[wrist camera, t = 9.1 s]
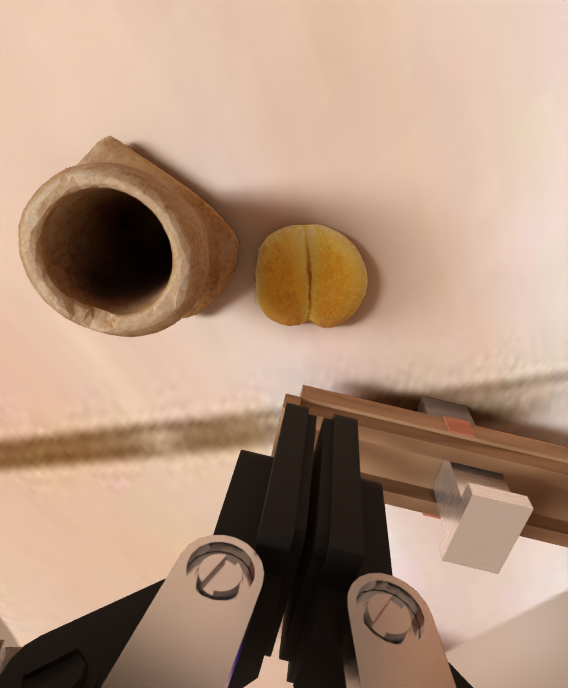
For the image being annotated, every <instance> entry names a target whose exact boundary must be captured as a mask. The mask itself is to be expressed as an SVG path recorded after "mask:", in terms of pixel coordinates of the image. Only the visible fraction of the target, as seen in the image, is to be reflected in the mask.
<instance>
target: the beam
mask: <svg viewBox="0 0 568 688" xmlns="http://www.w3.org/2000/svg"><path fill="white" fill-rule="evenodd" d="M286 403H292V404H296V405H300V406H304V407H308V408H309V414H311V415H315V416H317V421H316V432H315V443H314V449H315V446H316V442H317V438H318V435H319V431H320V428H321V424H322V421H323V418H328V419H332V417H333V415H334V414H338V415H342V416H347V417H351V418H355V419H357V420H358V436H359V455H360V475H361V478H363V479H367V480H371V481H375V482H380V483H381V484H382V488H383V495H384V504H389V505H393V506H397V507H401V508H405V509H409V510H414V511H418V512H422V513H423V515H426V516H430V517H434V518H438V519H441V517H440V513H439V509H438V505H437V502H436V498H435V494H434V490H433V485H434V483H435V481H436V478H437V476H438V473H439V471H440V469H441V466H442V464H443V462H444V460H446V461H450V462H455V463H459V464H463V465H467V466H471V467H476V468H480V469H484V470H488V471H493V472H497V473H501V474H502V475H503V477H504V479H505V481H506V483H507V486H508V488H509V490H510V492H511V493H515V494H520V495H524V496H527V497H528V499H529V501H530V503H531V505H532V507H533V511H532V513H531V515H530V517H529V518H528V520H527V522H526V524H525V526H524V528H523V530H522V531H521V533H520V535H519V536H522V537H526V538H531V539H535V540H539V541H543V542H547V543H552V544H556V545H560V546H564V547H568V447H565V446H561V445H557V444H552V443H548V442H544V441H540V440H535V439H531V438H527V437H523V436H518V435H514V434H510V433H506V432H501V431H497V430H493V429H488V428H484V427H480V426H476V425H475V424H474V421H473V419H472V417H471V415H470V413H469V410H468V408H467V406H463V405H459V404H455V403H450V402H446V401H442V400H438V399H433V398H429V397H425V396H422V397H421V400H420V402H419V405H418V408H417V410H416V411H412V410H408V409H403V408H399V407H395V406H391V405H386V404H382V403H378V402H374V401H369V400H365V399H361V398H356V397H352V396H348V395H344V394H339V393H335V392H331V391H327V390H322V389H318V388H314V387H310V386H305V385H303V387H302V391H301V395H300V397H298V396H294V395H290V394H286V395H285V399H284V404H283V408H282V412H281V416H280V421H279V425H278V429H277V433H276V438H275V442H274V446H273V450H272V455H271V457H274V453H275V449H276V445H277V441H278V436H279V432H280V428H281V424H282V420H283V415H284V411H285V407H286Z"/></svg>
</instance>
